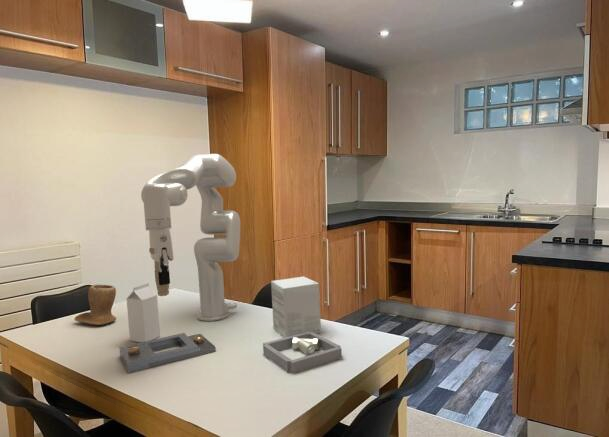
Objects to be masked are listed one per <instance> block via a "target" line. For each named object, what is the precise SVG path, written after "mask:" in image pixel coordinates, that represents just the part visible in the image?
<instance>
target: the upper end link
mask: <svg viewBox="0 0 609 437" xmlns="http://www.w3.org/2000/svg"><path fill="white" fill-rule="evenodd" d="M188 336H189V335H187V334H186V333H185V332H182V333H178V334H174V335H168V336H164V337H158V338H155V339H153V340H150V341H145V342H137V343H132V344H128V345H123V346H119V348H118V349H119V357H120V359H121V361H122V364H123V365H124V367H125V369H126V371H127V373H128V374H131V373H136V372H139V371H143V370H146V369H150V368H149V366H148V363H151V362H155V361H160V360H164V359H168V358H172V357H176V356H180V355H184V354H188V353H192V352H196V351H198V346H197V345H196V344H195V343H194V342H193V341H192V340H191V339H190V338H189V337H188ZM177 341H180V342H181V343H182V344H183V346H184V347H181V346H179V347H176V348H172V349H168V350H164V351H160V352H156V353H155V351H153V350H152V349H151V347H155V346H160V345H164V344H168V343H173V342H177Z"/></svg>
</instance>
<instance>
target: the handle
mask: <svg viewBox="0 0 609 437" xmlns="http://www.w3.org/2000/svg"><path fill="white" fill-rule="evenodd" d="M148 251H149V254H150V255H151V254H154V249H152V248H150V247H149V250H148ZM160 262H163V260H161V261H160ZM161 265H162V264H161ZM158 272H159V265H158V262H156V261H155V266H154V278H155V277H156V281H155V285H156V290H157V297H165V296H169V294H170V290H169V289H170V284H165V285H159V276H158Z"/></svg>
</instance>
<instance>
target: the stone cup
mask: <svg viewBox="0 0 609 437" xmlns="http://www.w3.org/2000/svg"><path fill="white" fill-rule="evenodd" d="M87 292H88V293H87V295H88V296H87V298H88V299H87V300H88V305H89V309H90V311H88V312H83V313H80V314H78V315H77V316H75V317H74V319H73V320H74V321H76V322H79V323H85V324H88V325H95V326H102V325H103V326H104V325H107V324H110V323H113V322H115V321H117V317H116V316H115V315H113V314H112V308H113V305H114V303H115V299H116V296H117V289H116V287H115V286H114V285H110V284H92V285H90V287H89V288H88V291H87Z"/></svg>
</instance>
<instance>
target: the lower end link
mask: <svg viewBox="0 0 609 437" xmlns="http://www.w3.org/2000/svg"><path fill="white" fill-rule="evenodd" d="M187 336H188V337H189V338H190V339H191V340H192V341H193V342H194V343H195V344H196V345H197V346H198V351H196V352H192V353H188V354H184V355H180V356H176V357H172V358H168V359H164V360H160V361H155V362H151V363H148V366H149V368H148V369H150V368H151V369H152V368H155V367H159V366H162V365H163V366H164V365H167V364H171V363H175V362H179V361H182V360H187V359H190V358H195V357H198V356H199V357H200V356H203V355H207V354H211V353H215V352H216V346H215V345H214V344H213V343H212V342H211V341H210V340H208V339H207V338H206V337H205V336H204V335H203V334H201V333H197V334H193V335H187ZM178 346H179V347H184V346H183V344H182V343H181V342H180V341H177V342H173V343H168V344H164V345H160V346H155V347H151V349H152V350H153V352H157V351H161V350H165V349H170V348H175V347H178Z"/></svg>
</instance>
